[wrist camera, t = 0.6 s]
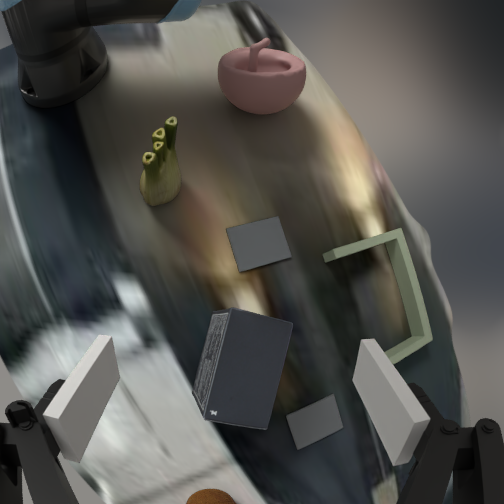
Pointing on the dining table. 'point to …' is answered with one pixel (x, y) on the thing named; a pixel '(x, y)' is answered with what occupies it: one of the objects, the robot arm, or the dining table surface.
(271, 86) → the mortar and pestle
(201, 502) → the disposable coffee cup
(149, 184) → the fennel bulb
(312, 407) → the track
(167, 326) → the dining table surface
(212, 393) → the small box
